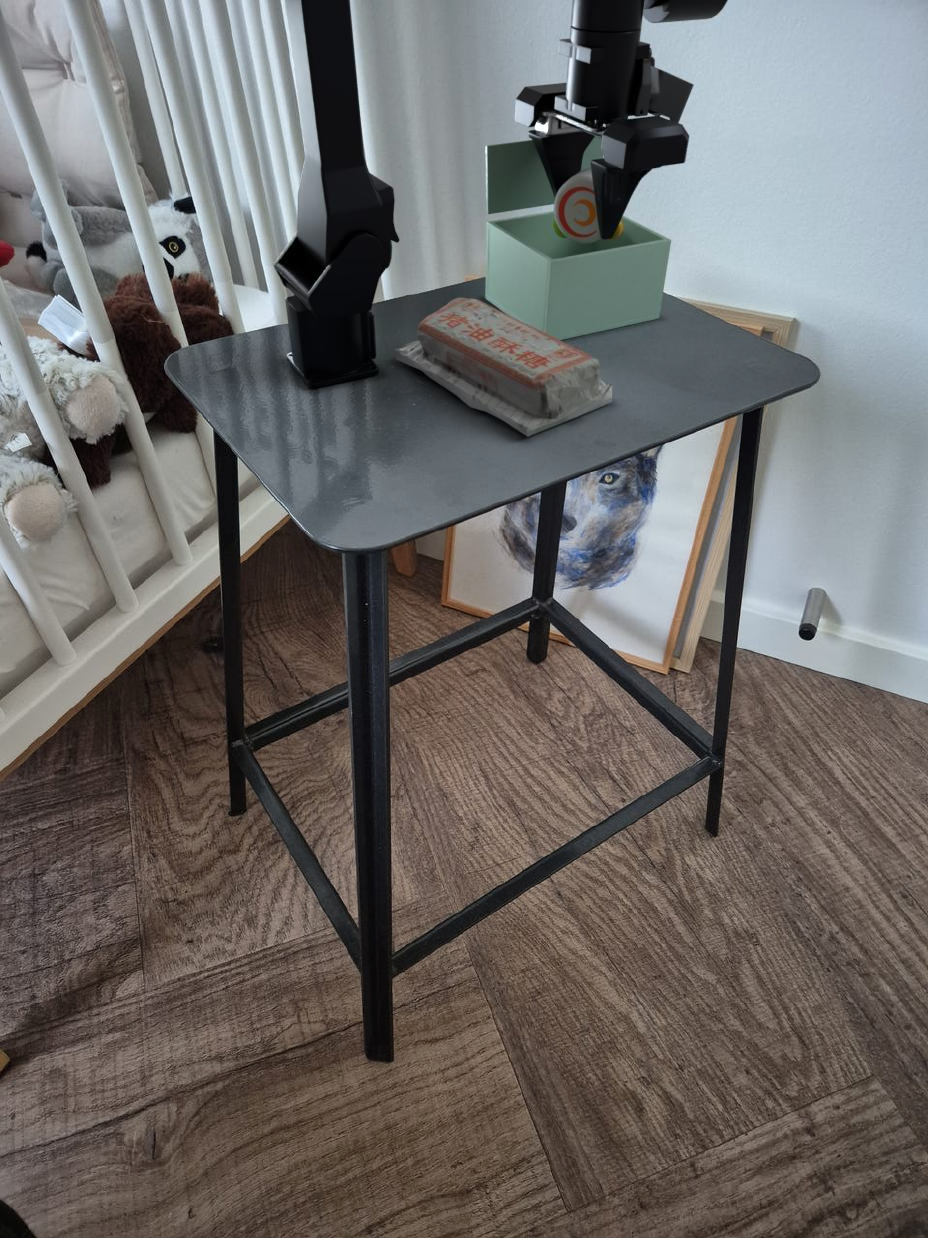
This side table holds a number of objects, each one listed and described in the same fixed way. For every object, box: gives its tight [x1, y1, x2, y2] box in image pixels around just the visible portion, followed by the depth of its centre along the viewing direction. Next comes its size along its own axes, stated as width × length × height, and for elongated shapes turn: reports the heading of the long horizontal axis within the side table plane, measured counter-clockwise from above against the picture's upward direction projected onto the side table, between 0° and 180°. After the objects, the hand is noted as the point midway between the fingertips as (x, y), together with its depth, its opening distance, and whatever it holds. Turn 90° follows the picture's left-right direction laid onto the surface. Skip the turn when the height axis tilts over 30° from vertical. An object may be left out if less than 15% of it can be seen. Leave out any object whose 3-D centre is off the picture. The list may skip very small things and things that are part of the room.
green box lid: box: [485, 136, 604, 215], centre depth 85 cm, size 13×6×1 cm
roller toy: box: [553, 168, 623, 244], centre depth 81 cm, size 4×6×6 cm
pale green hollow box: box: [484, 210, 672, 341], centre depth 86 cm, size 13×12×8 cm
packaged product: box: [393, 297, 613, 438], centre depth 75 cm, size 18×5×10 cm
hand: (586, 227), depth 82 cm, fingers closed on roller toy, 6 cm apart
